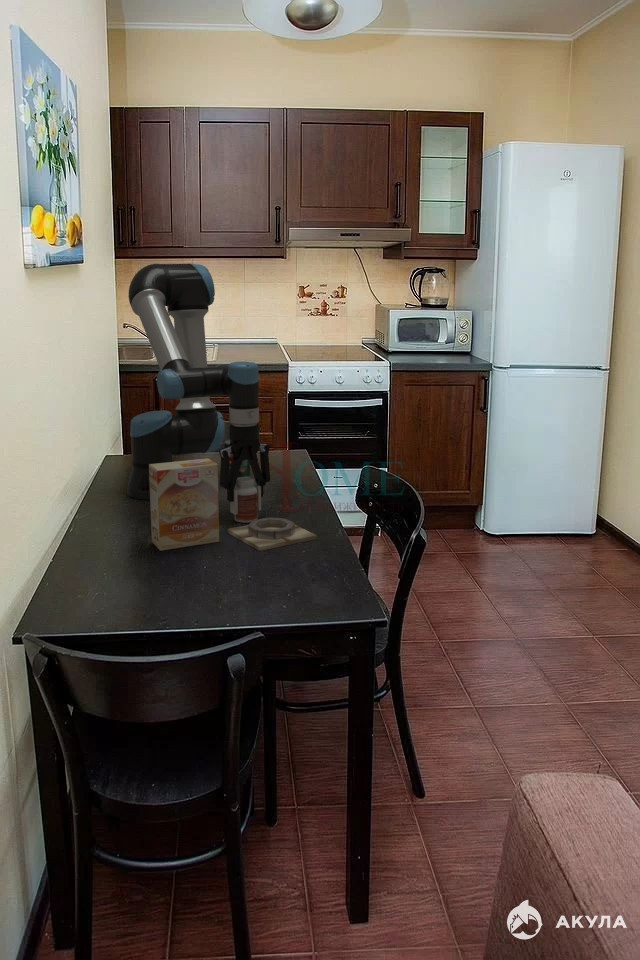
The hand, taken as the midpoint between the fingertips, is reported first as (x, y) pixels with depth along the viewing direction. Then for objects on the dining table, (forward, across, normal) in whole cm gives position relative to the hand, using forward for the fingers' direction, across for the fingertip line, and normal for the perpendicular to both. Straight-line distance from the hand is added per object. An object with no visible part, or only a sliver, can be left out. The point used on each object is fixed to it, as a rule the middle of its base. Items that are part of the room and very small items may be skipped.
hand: (245, 510), depth 220 cm
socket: (+2, -1, -15) cm, 15 cm away
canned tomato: (+3, +20, +42) cm, 47 cm away
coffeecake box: (+3, -21, -8) cm, 22 cm away
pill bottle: (+3, 0, 0) cm, 3 cm away
